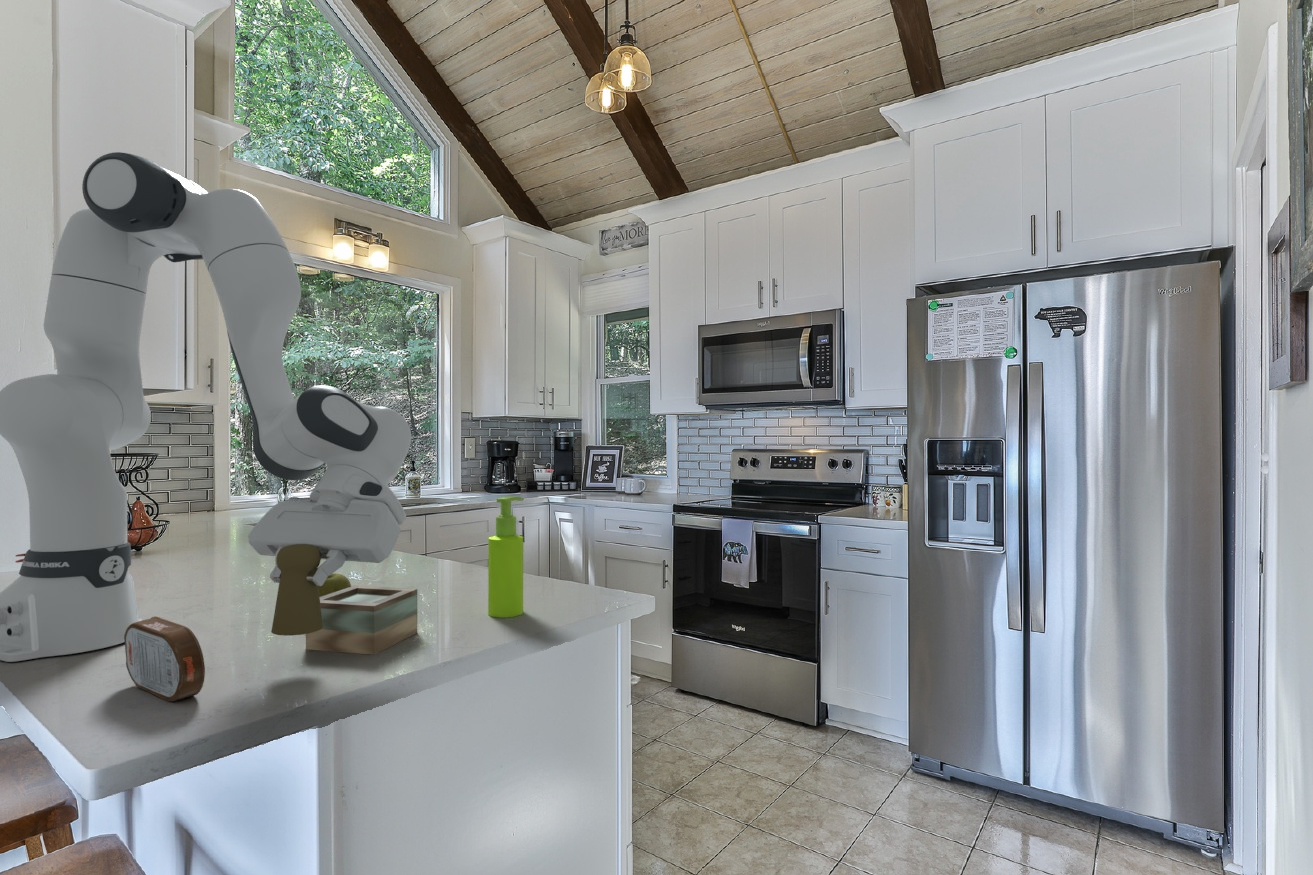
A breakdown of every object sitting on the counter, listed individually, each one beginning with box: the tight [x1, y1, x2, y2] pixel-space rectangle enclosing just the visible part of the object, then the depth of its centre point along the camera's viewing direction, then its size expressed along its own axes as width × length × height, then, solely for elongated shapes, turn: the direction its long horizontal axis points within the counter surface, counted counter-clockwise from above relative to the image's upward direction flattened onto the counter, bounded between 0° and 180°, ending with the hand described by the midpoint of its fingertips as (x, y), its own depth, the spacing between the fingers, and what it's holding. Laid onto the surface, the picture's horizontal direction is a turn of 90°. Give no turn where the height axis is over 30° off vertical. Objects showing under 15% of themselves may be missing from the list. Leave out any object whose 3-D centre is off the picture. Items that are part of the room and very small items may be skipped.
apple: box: [318, 573, 352, 597], centre depth 116 cm, size 8×8×7 cm
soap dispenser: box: [487, 496, 525, 619], centre depth 120 cm, size 6×7×20 cm
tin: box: [124, 616, 206, 703], centre depth 83 cm, size 15×3×8 cm, turn 58°
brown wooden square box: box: [305, 585, 418, 655], centre depth 103 cm, size 11×11×7 cm
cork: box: [271, 544, 323, 637], centre depth 91 cm, size 6×6×11 cm
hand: (295, 581), depth 90 cm, fingers closed on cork, 4 cm apart
